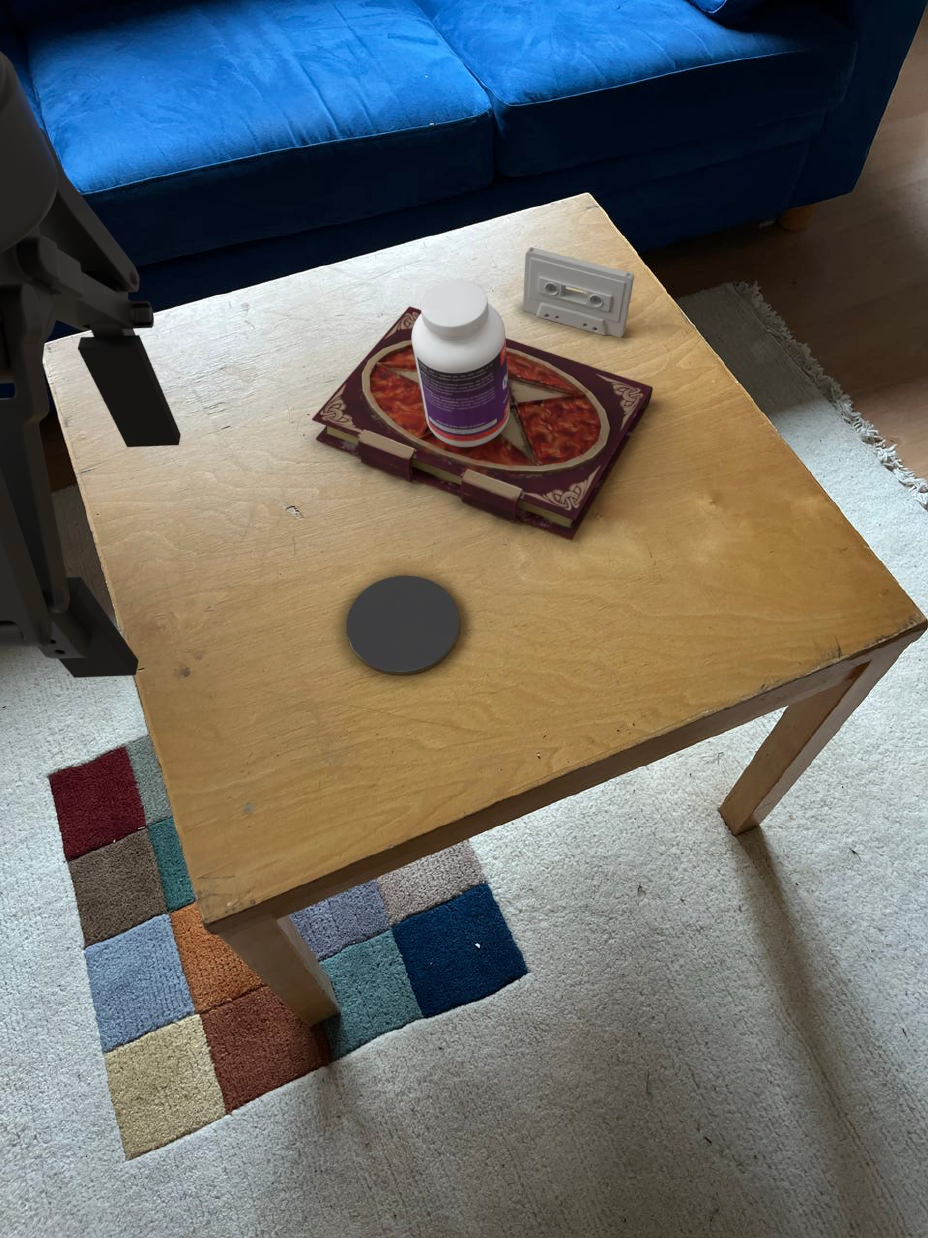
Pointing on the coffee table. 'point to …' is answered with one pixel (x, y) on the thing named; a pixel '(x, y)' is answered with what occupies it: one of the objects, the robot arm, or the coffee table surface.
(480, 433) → the pill bottle
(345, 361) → the coffee table surface
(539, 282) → the cassette
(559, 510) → the book
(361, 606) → the coaster
